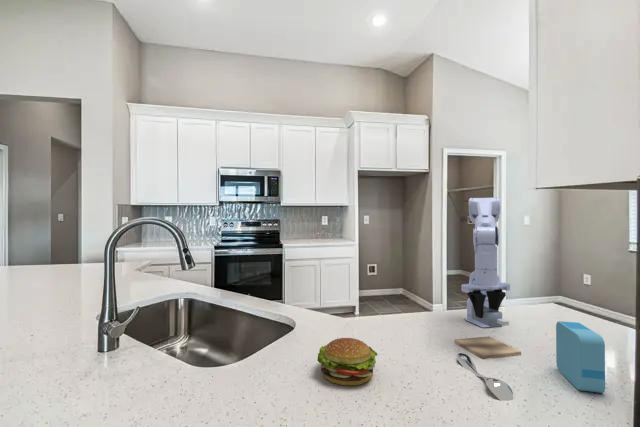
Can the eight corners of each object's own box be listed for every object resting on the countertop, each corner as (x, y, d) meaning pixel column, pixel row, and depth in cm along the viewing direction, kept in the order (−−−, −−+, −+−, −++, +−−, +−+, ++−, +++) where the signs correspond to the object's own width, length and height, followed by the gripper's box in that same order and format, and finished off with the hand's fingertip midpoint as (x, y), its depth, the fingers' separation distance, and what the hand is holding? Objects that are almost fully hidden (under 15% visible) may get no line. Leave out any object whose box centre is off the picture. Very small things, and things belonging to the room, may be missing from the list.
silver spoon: (451, 345, 87) (469, 345, 87) (451, 358, 87) (469, 358, 87) (495, 389, 67) (518, 389, 67) (495, 406, 67) (517, 406, 67)
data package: (605, 396, 69) (605, 338, 69) (580, 393, 70) (580, 336, 70) (577, 370, 81) (576, 320, 81) (556, 368, 82) (555, 319, 82)
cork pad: (454, 342, 99) (454, 339, 99) (489, 339, 101) (489, 336, 101) (482, 358, 87) (482, 355, 87) (521, 354, 90) (521, 351, 90)
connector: (468, 317, 99) (468, 305, 99) (480, 316, 100) (480, 304, 100) (499, 330, 87) (499, 317, 87) (512, 329, 88) (512, 316, 88)
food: (381, 365, 83) (381, 333, 83) (371, 393, 70) (371, 355, 70) (328, 358, 88) (329, 327, 88) (309, 382, 74) (310, 346, 74)
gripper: (473, 271, 89) (473, 322, 89) (518, 269, 92) (518, 319, 92) (456, 267, 96) (456, 315, 96) (499, 266, 99) (499, 312, 99)
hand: (486, 316), depth 94 cm, fingers closed on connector, 4 cm apart
